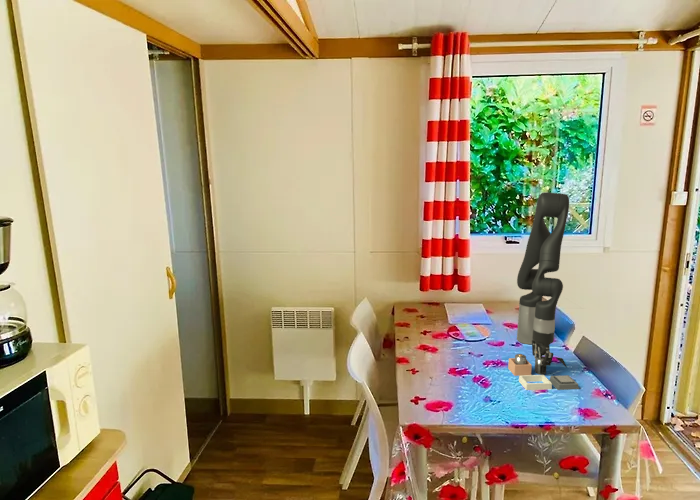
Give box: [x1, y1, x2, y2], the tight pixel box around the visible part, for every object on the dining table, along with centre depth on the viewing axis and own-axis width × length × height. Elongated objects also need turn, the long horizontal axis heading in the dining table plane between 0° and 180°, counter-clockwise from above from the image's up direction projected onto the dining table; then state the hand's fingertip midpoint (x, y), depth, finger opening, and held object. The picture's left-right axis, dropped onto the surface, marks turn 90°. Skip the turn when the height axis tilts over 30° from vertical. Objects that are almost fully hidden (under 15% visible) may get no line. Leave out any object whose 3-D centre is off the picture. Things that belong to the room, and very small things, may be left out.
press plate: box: [554, 375, 575, 384], centre depth 178 cm, size 5×5×1 cm
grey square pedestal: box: [548, 374, 580, 391], centre depth 178 cm, size 7×8×3 cm
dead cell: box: [514, 353, 527, 365], centre depth 188 cm, size 4×4×7 cm
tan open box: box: [507, 357, 533, 377], centre depth 189 cm, size 6×6×5 cm
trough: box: [518, 374, 553, 391], centre depth 178 cm, size 7×9×3 cm
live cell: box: [534, 356, 545, 376], centre depth 188 cm, size 4×4×7 cm
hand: (540, 370), depth 188 cm, fingers closed on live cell, 4 cm apart
